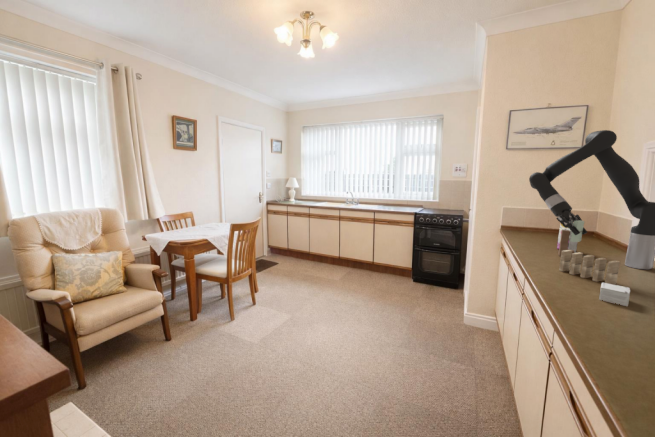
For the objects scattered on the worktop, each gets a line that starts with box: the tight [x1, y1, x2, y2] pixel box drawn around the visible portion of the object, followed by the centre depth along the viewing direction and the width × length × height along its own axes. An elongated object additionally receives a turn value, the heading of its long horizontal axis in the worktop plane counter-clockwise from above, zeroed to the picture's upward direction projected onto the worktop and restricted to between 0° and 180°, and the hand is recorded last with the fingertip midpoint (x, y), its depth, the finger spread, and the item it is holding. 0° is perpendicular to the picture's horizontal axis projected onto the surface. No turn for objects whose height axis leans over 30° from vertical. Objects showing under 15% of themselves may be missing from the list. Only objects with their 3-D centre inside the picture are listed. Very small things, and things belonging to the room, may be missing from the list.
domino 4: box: [580, 254, 595, 279], centre depth 131 cm, size 2×5×10 cm, turn 110°
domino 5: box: [591, 257, 608, 283], centre depth 127 cm, size 2×5×10 cm, turn 110°
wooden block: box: [558, 230, 574, 259], centre depth 163 cm, size 7×3×15 cm, turn 57°
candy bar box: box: [556, 222, 579, 253], centre depth 174 cm, size 11×5×16 cm, turn 168°
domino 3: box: [568, 252, 584, 276], centre depth 135 cm, size 2×5×10 cm, turn 110°
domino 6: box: [604, 260, 621, 285], centre depth 123 cm, size 2×5×10 cm, turn 110°
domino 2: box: [571, 220, 585, 243], centre depth 137 cm, size 2×5×10 cm, turn 110°
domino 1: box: [558, 250, 572, 273], centre depth 140 cm, size 2×5×10 cm, turn 111°
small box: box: [598, 281, 631, 307], centre depth 108 cm, size 8×8×5 cm
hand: (581, 233), depth 136 cm, fingers closed on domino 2, 5 cm apart
